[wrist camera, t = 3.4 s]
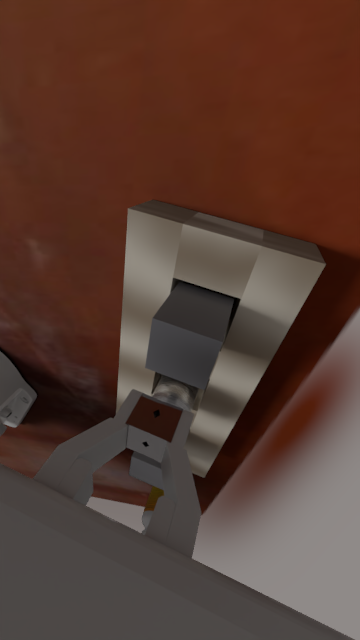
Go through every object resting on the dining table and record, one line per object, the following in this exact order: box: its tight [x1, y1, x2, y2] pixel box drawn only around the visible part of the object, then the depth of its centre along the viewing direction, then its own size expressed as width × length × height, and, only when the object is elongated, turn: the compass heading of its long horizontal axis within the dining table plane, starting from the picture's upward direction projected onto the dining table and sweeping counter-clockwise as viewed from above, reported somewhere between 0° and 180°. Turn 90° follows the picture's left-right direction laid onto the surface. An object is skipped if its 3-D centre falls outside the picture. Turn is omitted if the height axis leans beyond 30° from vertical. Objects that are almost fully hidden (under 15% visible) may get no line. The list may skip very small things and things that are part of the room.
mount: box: [116, 200, 326, 478], centre depth 24 cm, size 28×12×4 cm, turn 169°
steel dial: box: [152, 375, 199, 412], centre depth 21 cm, size 4×4×6 cm
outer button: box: [145, 282, 234, 390], centre depth 16 cm, size 4×4×5 cm
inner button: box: [129, 451, 164, 490], centre depth 26 cm, size 4×4×5 cm
